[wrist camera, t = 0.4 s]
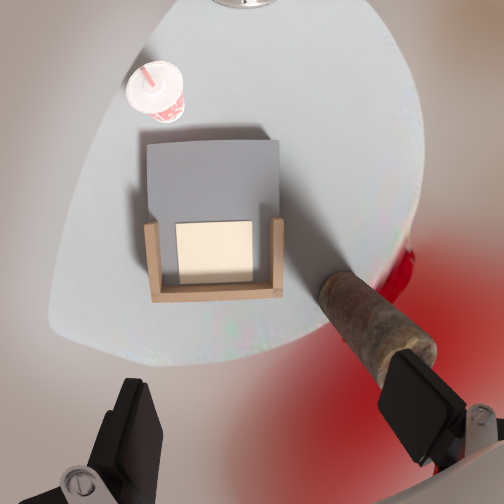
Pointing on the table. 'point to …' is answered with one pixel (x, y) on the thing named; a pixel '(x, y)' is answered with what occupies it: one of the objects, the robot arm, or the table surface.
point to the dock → (214, 221)
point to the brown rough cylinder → (372, 324)
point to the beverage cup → (157, 91)
